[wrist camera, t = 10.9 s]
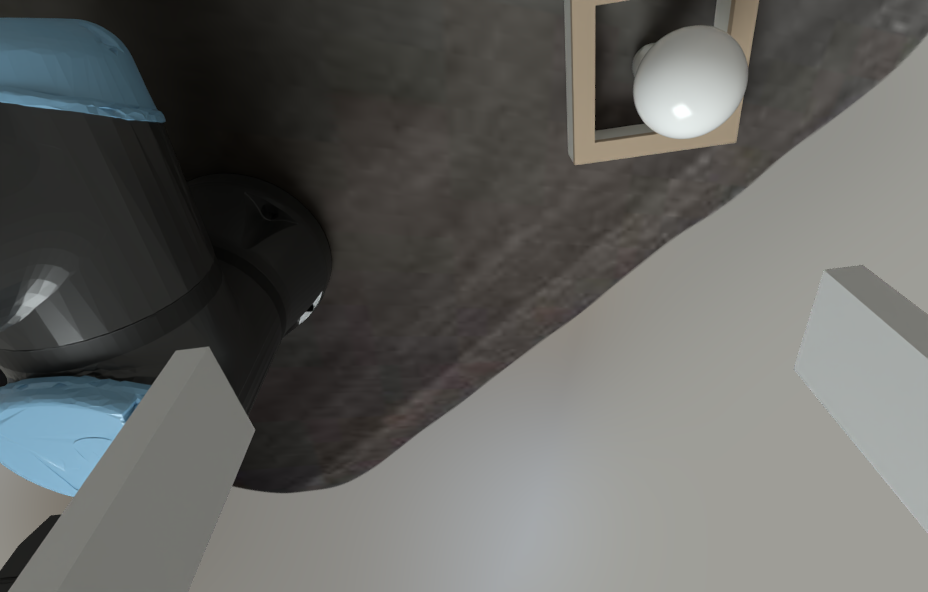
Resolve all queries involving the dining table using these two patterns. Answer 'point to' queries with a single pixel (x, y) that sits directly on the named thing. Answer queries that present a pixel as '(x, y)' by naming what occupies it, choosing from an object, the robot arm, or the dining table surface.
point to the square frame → (638, 140)
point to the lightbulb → (689, 81)
